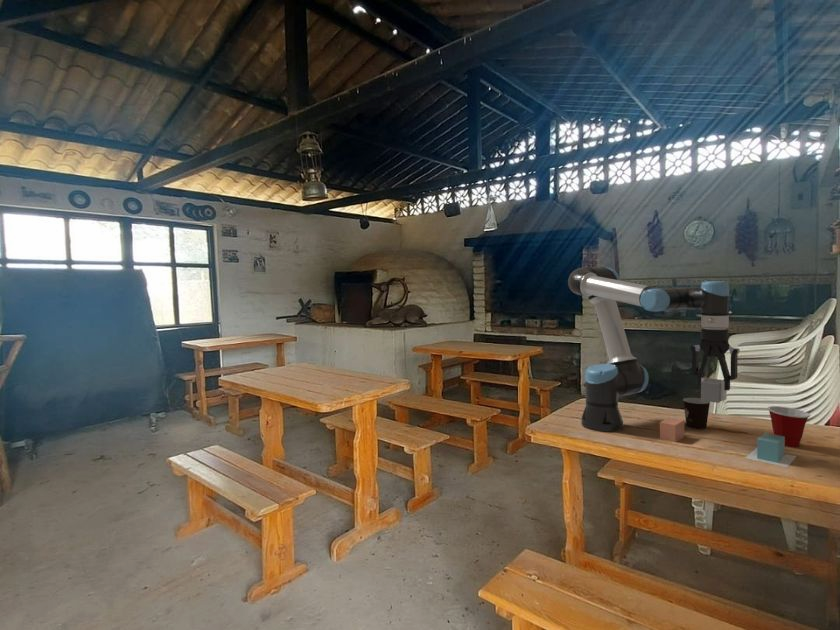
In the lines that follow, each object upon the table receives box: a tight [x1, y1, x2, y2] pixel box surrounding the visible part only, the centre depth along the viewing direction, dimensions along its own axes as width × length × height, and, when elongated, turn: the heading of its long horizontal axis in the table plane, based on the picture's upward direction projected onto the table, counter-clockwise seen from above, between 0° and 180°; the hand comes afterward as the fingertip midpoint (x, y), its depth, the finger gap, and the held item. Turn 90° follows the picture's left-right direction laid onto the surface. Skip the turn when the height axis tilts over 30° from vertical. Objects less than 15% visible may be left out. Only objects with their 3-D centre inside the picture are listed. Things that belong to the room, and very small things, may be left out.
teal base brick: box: [756, 432, 786, 463], centre depth 134 cm, size 5×8×6 cm, turn 129°
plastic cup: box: [767, 405, 811, 448], centre depth 144 cm, size 11×11×12 cm
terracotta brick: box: [659, 417, 685, 443], centre depth 156 cm, size 5×8×6 cm, turn 129°
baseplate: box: [745, 447, 797, 468], centre depth 135 cm, size 10×12×1 cm
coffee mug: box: [682, 397, 711, 430], centre depth 168 cm, size 12×9×10 cm
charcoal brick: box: [700, 378, 722, 404], centre depth 145 cm, size 5×8×6 cm, turn 130°
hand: (713, 398), depth 145 cm, fingers closed on charcoal brick, 5 cm apart
